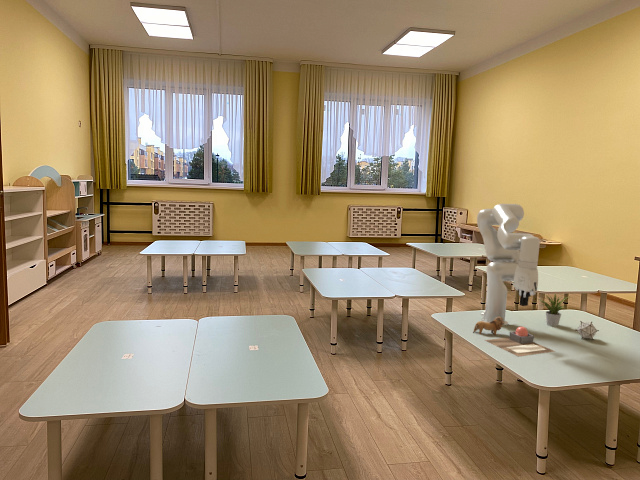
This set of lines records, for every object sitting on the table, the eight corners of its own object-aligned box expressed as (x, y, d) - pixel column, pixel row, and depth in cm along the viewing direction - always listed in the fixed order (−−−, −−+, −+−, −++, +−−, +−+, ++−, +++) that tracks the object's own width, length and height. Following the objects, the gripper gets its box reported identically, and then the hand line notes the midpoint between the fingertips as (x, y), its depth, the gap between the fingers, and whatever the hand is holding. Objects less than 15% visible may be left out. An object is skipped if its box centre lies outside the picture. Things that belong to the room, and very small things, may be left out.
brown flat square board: (484, 342, 210) (484, 339, 210) (519, 338, 217) (519, 335, 217) (517, 359, 191) (518, 356, 191) (555, 354, 199) (555, 350, 198)
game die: (586, 345, 222) (596, 327, 223) (594, 344, 214) (605, 326, 215) (568, 334, 224) (579, 316, 225) (576, 333, 215) (587, 315, 217)
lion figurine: (499, 333, 223) (501, 315, 222) (504, 337, 218) (506, 318, 216) (469, 333, 222) (470, 315, 221) (473, 337, 216) (475, 318, 215)
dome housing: (508, 338, 213) (509, 332, 212) (521, 337, 216) (521, 330, 215) (520, 344, 206) (521, 337, 206) (533, 342, 209) (534, 335, 208)
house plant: (558, 320, 248) (561, 289, 246) (575, 328, 235) (579, 296, 232) (532, 320, 246) (535, 289, 244) (549, 329, 233) (552, 296, 230)
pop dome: (512, 337, 212) (513, 325, 211) (521, 336, 214) (522, 324, 213) (521, 341, 207) (522, 329, 207) (529, 340, 209) (531, 328, 209)
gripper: (508, 261, 212) (504, 301, 215) (534, 268, 198) (530, 311, 201) (521, 260, 215) (517, 300, 217) (548, 267, 201) (543, 309, 204)
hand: (523, 305), depth 209 cm, fingers closed
